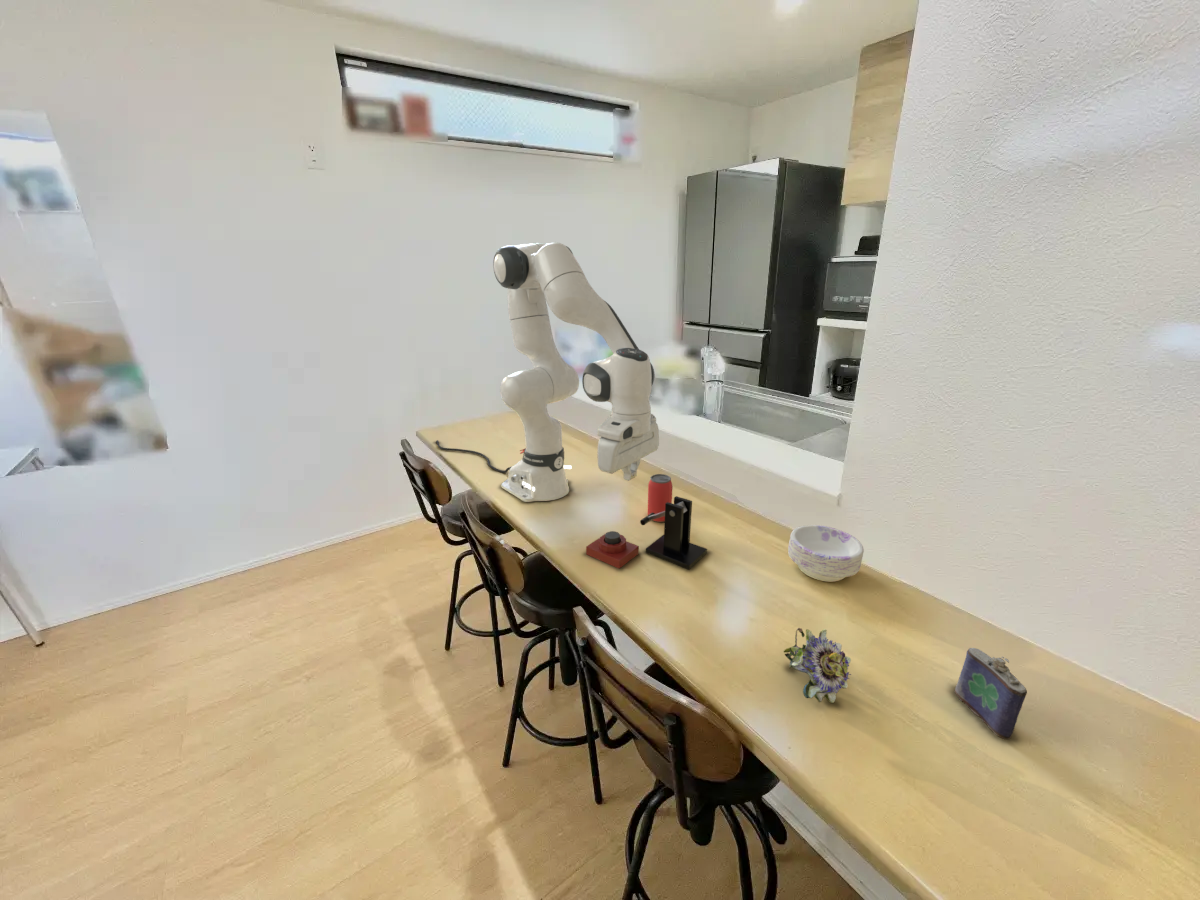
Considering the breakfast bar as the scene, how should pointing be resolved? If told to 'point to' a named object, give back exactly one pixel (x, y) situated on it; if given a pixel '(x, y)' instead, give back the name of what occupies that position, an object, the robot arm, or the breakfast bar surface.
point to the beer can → (659, 494)
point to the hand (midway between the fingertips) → (630, 478)
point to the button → (612, 537)
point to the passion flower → (820, 665)
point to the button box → (612, 551)
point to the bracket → (677, 537)
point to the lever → (659, 514)
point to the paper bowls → (825, 552)
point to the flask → (991, 691)
